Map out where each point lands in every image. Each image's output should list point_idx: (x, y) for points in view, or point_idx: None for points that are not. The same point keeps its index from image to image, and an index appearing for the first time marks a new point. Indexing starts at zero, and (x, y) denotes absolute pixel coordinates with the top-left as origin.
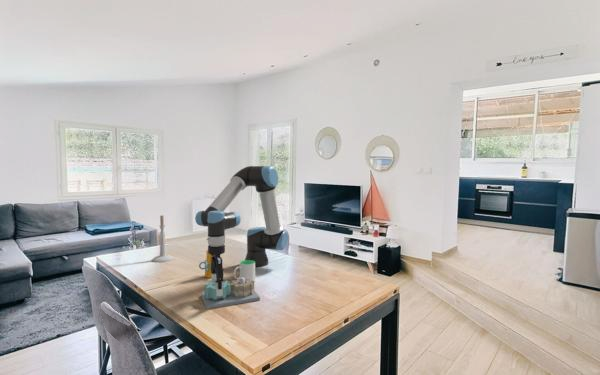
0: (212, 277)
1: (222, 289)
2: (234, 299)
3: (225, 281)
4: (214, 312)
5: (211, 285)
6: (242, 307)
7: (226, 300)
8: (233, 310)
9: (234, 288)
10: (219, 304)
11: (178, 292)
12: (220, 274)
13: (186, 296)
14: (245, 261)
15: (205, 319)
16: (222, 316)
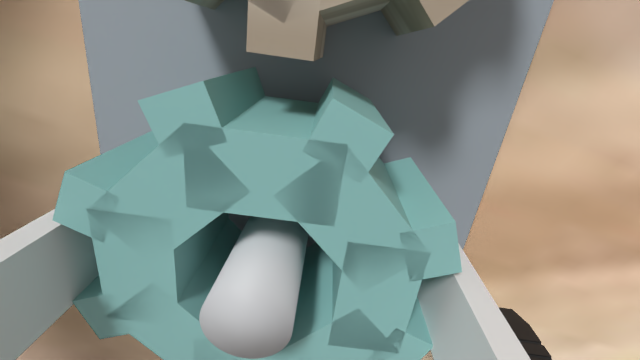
0: (21, 341)
1: (476, 275)
2: (473, 73)
3: (186, 140)
4: (520, 281)
5: (268, 358)
6: (632, 41)
7: (439, 160)
8: (614, 149)
9: (353, 8)
10: (463, 234)
11: (24, 356)
12: None
13: (118, 339)
14: None
15: (576, 352)
16: (636, 260)
